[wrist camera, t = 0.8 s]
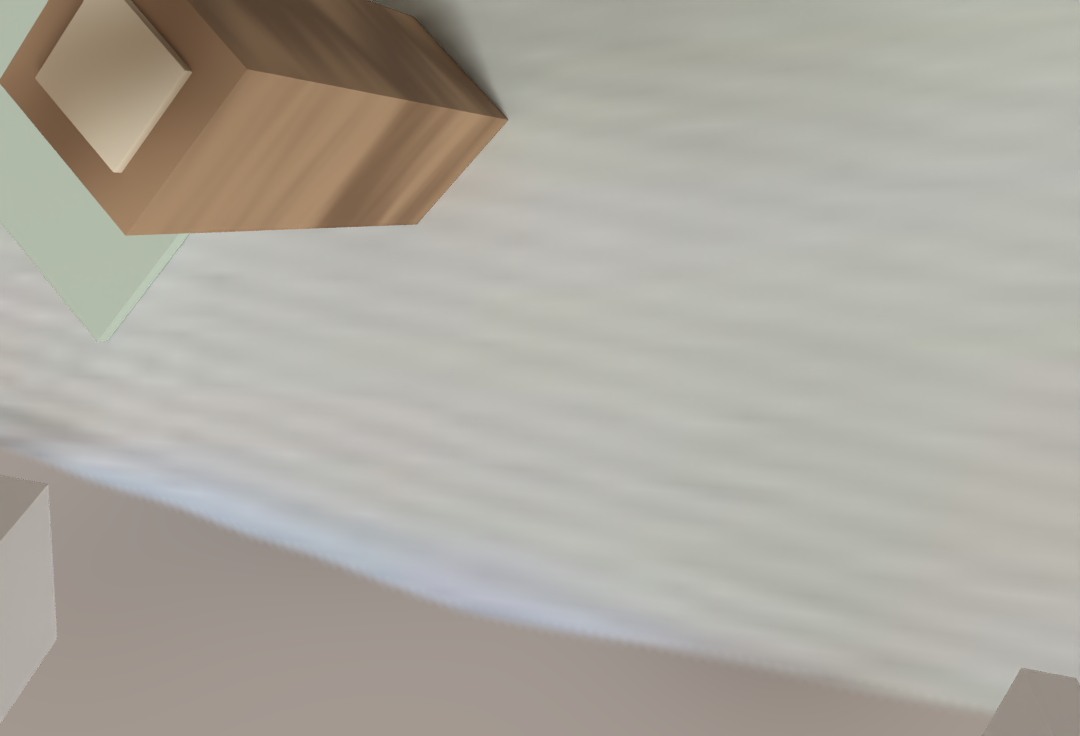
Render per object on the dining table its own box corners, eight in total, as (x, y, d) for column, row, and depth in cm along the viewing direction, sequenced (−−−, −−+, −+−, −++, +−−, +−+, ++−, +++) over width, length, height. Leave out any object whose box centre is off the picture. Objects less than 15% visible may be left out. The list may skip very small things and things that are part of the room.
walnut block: (508, 120, 34) (239, 67, 21) (416, 224, 36) (117, 235, 23) (413, 17, 35) (96, -97, 22) (328, 124, 37) (-11, 80, 24)
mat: (302, 85, 37) (293, 83, 36) (107, 340, 42) (96, 342, 41) (-75, -342, 40) (-89, -349, 40) (-213, -57, 45) (-227, -60, 45)
